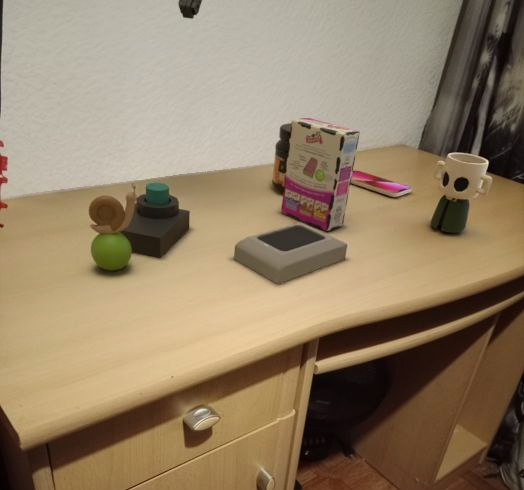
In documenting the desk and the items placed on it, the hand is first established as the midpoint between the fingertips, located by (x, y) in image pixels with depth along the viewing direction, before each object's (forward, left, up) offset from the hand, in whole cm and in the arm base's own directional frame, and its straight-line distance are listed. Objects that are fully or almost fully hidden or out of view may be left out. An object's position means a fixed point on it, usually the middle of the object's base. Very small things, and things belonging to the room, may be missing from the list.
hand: (186, 13), depth 81 cm
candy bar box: (+16, +17, -30) cm, 38 cm away
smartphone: (+9, +44, -30) cm, 54 cm away
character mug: (+32, +37, -30) cm, 57 cm away
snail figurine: (+15, -22, -30) cm, 40 cm away
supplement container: (+3, +26, -30) cm, 40 cm away
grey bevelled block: (+26, +2, -30) cm, 40 cm away
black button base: (+9, -13, -30) cm, 34 cm away
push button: (+7, -10, -25) cm, 28 cm away
